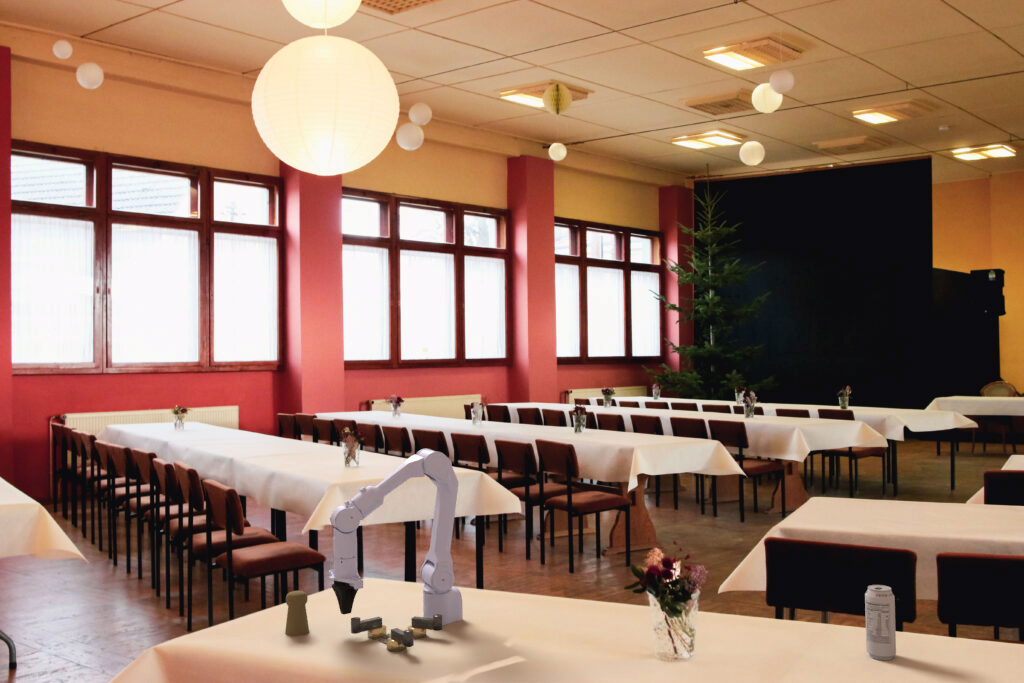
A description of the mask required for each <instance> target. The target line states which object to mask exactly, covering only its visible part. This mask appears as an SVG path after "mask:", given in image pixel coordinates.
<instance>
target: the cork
mask: <svg viewBox="0 0 1024 683" xmlns="http://www.w3.org/2000/svg"><path fill="white" fill-rule="evenodd" d="M308 598H309V597H308V594H307V592H306V591H304V590H292V591H290V592H288V593H287V594H286V596H285V604H286V605H287V614H286V623H285V630H284V631H285V632H284V634H285V635H287V636H289V637H290V636H291V637H297V636H299V637H300V636H305V635H307V634H309V633H310V628H309V621H308V614H307V609H306V608H307V607H306V604H307V603H308Z"/></svg>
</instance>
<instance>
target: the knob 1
mask: <svg viewBox="0 0 1024 683" xmlns="http://www.w3.org/2000/svg"><path fill="white" fill-rule="evenodd" d="M362 632H367V638H369V639H381V638H382V637H384V636H386V635H387V626H386V625H385V624H383V618H382V617H381V616H376V617H372V618H371V617H370V618H365V619H363V620H361V617H358V616H355V617H351V618H350V633H351V634H354V635H355V634H360V633H362Z"/></svg>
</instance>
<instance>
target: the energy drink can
mask: <svg viewBox="0 0 1024 683" xmlns="http://www.w3.org/2000/svg"><path fill="white" fill-rule="evenodd" d="M895 600H896V599H895V595H894V593H893V591H892V587H890V586H887V585H884V584H872V585H871V584H870V585H868V586H867V590H866V591H865V593H864V604H865V608H864V611H865V642H866V643H865V646H866V648H865V650H866V653H868V656H869V657H870V658H872V659H875V660H878V661H879V660H880V661H889V660H892V659H894V656H896V654H897V646H896V645H897V640H896V635H897V634H896V605H895V604H896V602H895Z"/></svg>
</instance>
